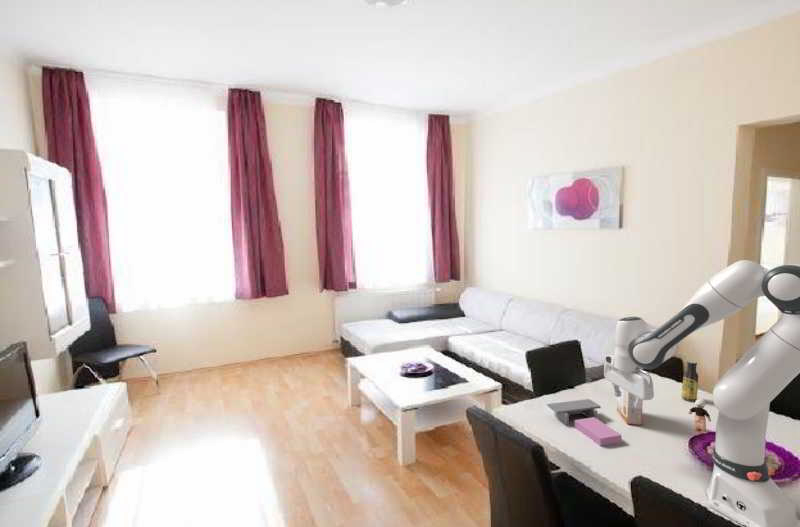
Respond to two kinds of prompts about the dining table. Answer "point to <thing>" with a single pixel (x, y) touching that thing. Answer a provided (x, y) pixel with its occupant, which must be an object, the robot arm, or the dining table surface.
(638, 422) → the cracker box
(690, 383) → the sauce bottle
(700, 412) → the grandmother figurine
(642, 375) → the robot arm
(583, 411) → the bridge dock
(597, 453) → the dining table surface
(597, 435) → the pink rectangular block
